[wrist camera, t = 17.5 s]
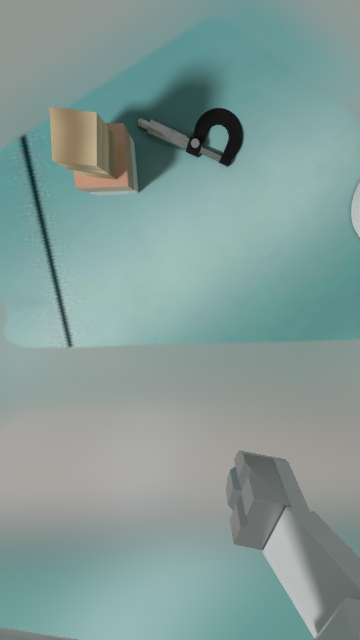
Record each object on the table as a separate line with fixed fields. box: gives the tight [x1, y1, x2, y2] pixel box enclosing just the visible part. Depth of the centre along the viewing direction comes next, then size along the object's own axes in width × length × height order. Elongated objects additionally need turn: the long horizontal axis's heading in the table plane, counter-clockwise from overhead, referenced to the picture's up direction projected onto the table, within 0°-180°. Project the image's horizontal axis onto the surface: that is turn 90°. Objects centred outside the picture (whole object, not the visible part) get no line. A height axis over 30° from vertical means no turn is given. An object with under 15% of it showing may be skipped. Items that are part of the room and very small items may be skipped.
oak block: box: [50, 107, 118, 180], centre depth 29 cm, size 4×4×8 cm
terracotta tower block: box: [73, 123, 134, 192], centre depth 35 cm, size 7×7×4 cm
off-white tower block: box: [88, 136, 139, 195], centre depth 39 cm, size 7×7×4 cm
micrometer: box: [138, 108, 242, 166], centre depth 38 cm, size 15×7×3 cm, turn 68°
